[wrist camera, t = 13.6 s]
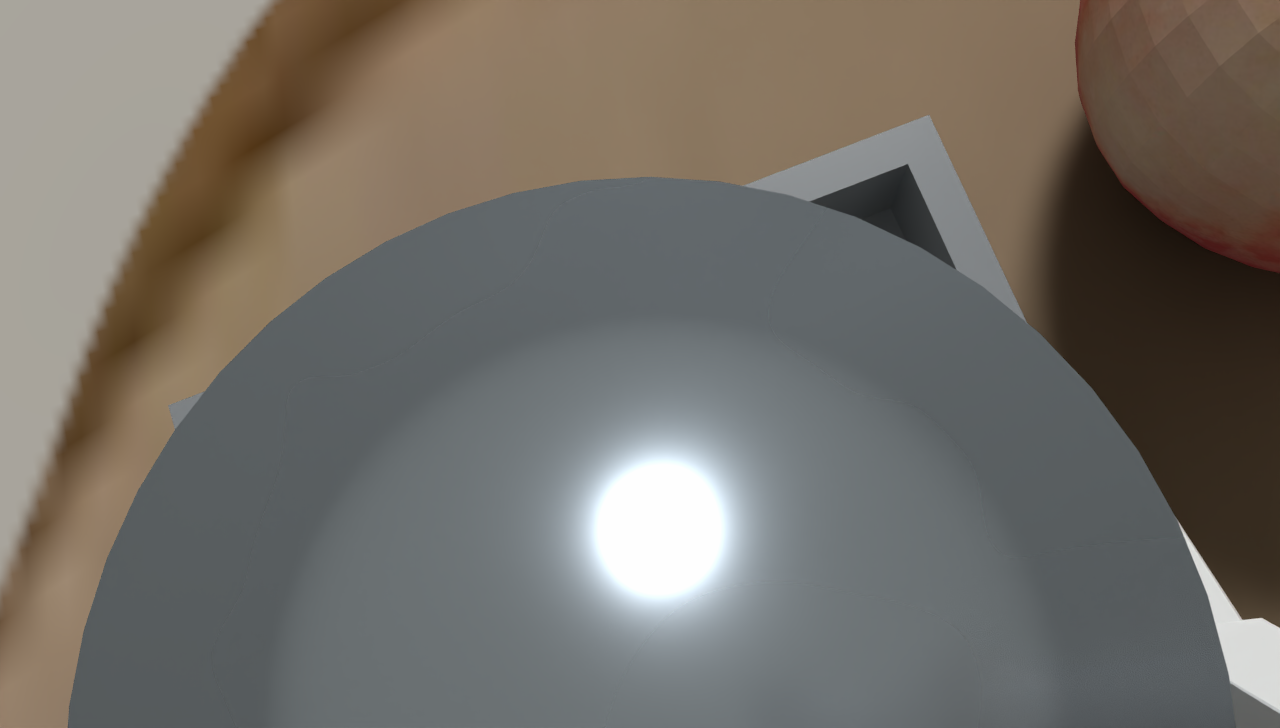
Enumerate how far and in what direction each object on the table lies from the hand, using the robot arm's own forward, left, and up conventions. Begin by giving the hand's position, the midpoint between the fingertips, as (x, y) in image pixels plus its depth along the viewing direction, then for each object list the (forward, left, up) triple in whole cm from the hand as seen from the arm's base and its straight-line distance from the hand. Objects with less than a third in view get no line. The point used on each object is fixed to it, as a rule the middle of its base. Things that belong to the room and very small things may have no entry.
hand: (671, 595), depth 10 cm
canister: (0, +1, -7) cm, 7 cm away
